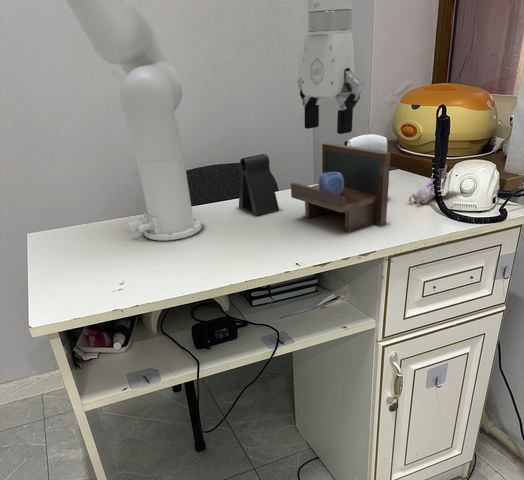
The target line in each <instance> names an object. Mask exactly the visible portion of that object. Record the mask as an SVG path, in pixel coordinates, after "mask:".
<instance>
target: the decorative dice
mask: <svg viewBox="0 0 524 480" xmlns="http://www.w3.org/2000/svg"><path fill="white" fill-rule="evenodd" d="M318 185H319V189H320V190H324V191H328V192H331V193H335V194H339V195H340V194H341V193H342V191H343V189H344V179H343V176H342V174H341V173H339V172H326V173H323V174H322V173H321V175H320V176H319V177H318Z"/></svg>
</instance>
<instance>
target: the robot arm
mask: <svg viewBox="0 0 524 480" xmlns="http://www.w3.org/2000/svg"><path fill="white" fill-rule="evenodd" d="M65 1H66V2H67V4H68V6H69V8H70V10H71V11H72V13H73V15H74V16H75V18H76V20H77V21H78V24H79V25H80V26H81V28H82V30H83V32H84V33H85V36H86V37H87V38H88V40H89V42H90V44H91V46H92V47H93V49H94V51H95V52H96V54H97V55H98V56H99V57H100V58H101V59H102V60H104V61H105V62H107V63H109V64H113V65H119V66H120V68H121V70H122V71H123V73H124V74H125V76H124V78H123V80H122V82H121V85H120V92H119V96H120V104H121V109H122V113H123V115H124V118H125V121H126V124H127V127H128V131H129V134H130V138H131V143H132V146H133V151H134V152H133V153H134V156H135V160H136V164H137V168H138V169H137V170H138V173H139V179H140V183H141V189H142V193H143V197H144V202H145V208H146V212H143V213H142V214H143V215H142V216H143V217H140V219H139V220H134V221H129V222H127V223H126V227H127V230H128V231H129V233H131V232H135V231H138V232H139V233H142V232H143V234H144V236H145V237H146V238H147V239H150V240H152V241H154V240H155V241H175V240H180V239H185V238H189V237H191V236H194V235H196V234H197V233H199V232H200V231H201V230H202V227H203V226H202V221H201V220H200V219H198V218H196V217H194V214H193V213H194V212H193V207H192V201H191V195H190V189H189V181H188V176H187V169H186V163H185V157H184V152H183V145H182V139H181V133H180V130H179V125H178V120H177V117H176V112H175V111H176V110H177V109H178V108H179V106H180V104H181V101H182V98H183V88H182V83H181V79H180V77H179V74H178V73H177V71H176V69H175V67H174V66H173V64H172V62H171V60H170V58H169V56H168V54H167V52H166V51H165V49H164V46H163V45H162V43H161V41H160V39H159V38H158V35H157V34H156V32H155V30H154V28H153V26H152V25H151V23H150V22H149V20H148V19H147V18H146V16H144V14H143V13H142V12H141V11H140V10H138V9H137V8H135V7H134V6H132V5H128V4H126V3H125V1H123V0H65ZM307 11H308V12H307V27H308V28H307V31H308V32H307V35H305V40H304V45H303V53H302V54H303V55H302V65H301V77H299V78H298V79H297V86H298V90H299V96H300V98H301V100H302V103H301V104H302V106H303V107H304V128H305V129H307V130H308V129H314V128H319V126H320V105H319V104H317V103H318V101H319V100H320V99H334V98H335V100H336V102H337V104H338V107H339V109H338V110H337V117H336V118H337V119H336V121H337V123H336V124H337V125H336V133H337V134H338V135H343V134H348V133H351V132H352V131H353V118H354V117H353V114H354V109H356V107H357V103H358V102H359V100H360V98H361V94H362V92H363V89H364V86H365V84H364V82H363V81H362V80H361V79H360V78H359V77H358V76H357V75H356V74H355V47H354V38H353V32H352V18H353V17H352V14H353V0H307Z"/></svg>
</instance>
